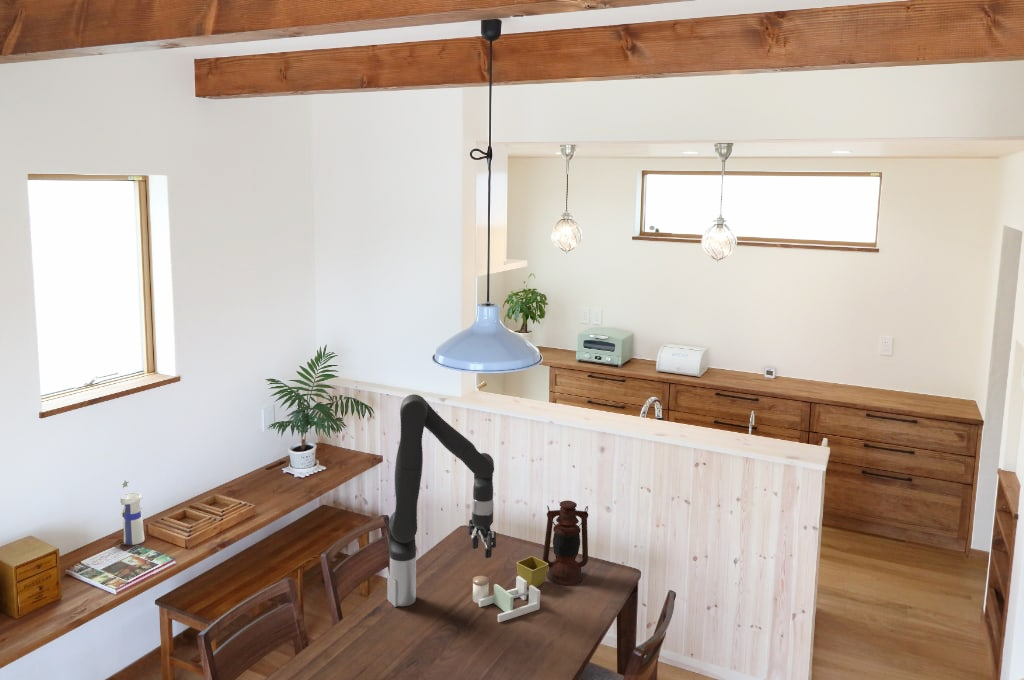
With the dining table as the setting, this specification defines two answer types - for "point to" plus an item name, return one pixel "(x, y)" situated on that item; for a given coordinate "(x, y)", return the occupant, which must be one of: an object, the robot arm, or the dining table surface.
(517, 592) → the lane
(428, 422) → the robot arm
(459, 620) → the dining table surface
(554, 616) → the dining table surface
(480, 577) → the jar
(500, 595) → the pusher
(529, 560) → the flower pot
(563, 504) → the lantern
